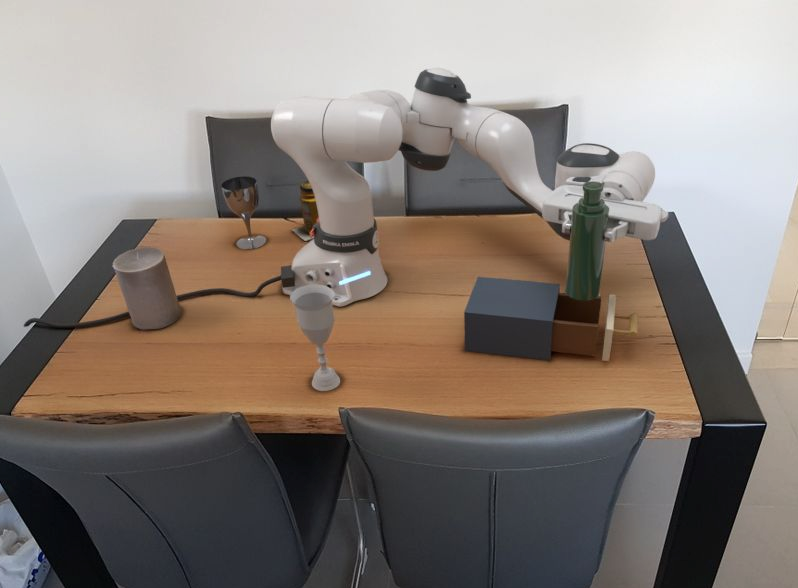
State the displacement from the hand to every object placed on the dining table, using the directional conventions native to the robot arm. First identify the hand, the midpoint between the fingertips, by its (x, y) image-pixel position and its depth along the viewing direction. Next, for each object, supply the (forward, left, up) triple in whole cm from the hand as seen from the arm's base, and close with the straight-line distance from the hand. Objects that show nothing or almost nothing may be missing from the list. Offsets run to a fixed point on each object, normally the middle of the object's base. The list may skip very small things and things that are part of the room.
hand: (586, 233), depth 118 cm
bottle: (0, +1, -12) cm, 12 cm away
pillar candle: (-84, -7, -23) cm, 87 cm away
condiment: (-66, +35, -23) cm, 78 cm away
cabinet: (-12, 0, -23) cm, 26 cm away
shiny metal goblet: (-79, +27, -23) cm, 86 cm away
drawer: (+1, 0, -22) cm, 22 cm away
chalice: (-42, -20, -23) cm, 52 cm away
